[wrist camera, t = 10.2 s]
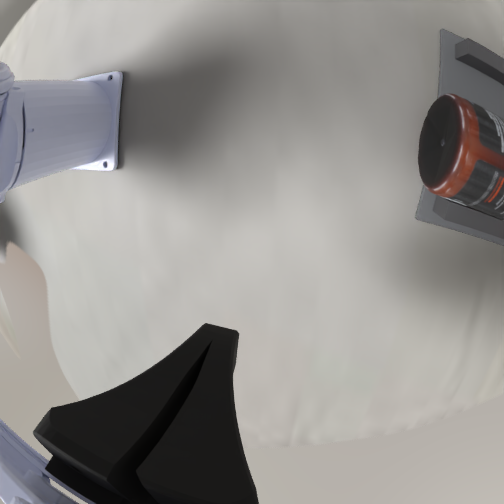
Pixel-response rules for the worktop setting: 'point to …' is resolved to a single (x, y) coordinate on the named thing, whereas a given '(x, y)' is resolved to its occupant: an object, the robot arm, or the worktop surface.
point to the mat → (483, 94)
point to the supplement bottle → (463, 154)
